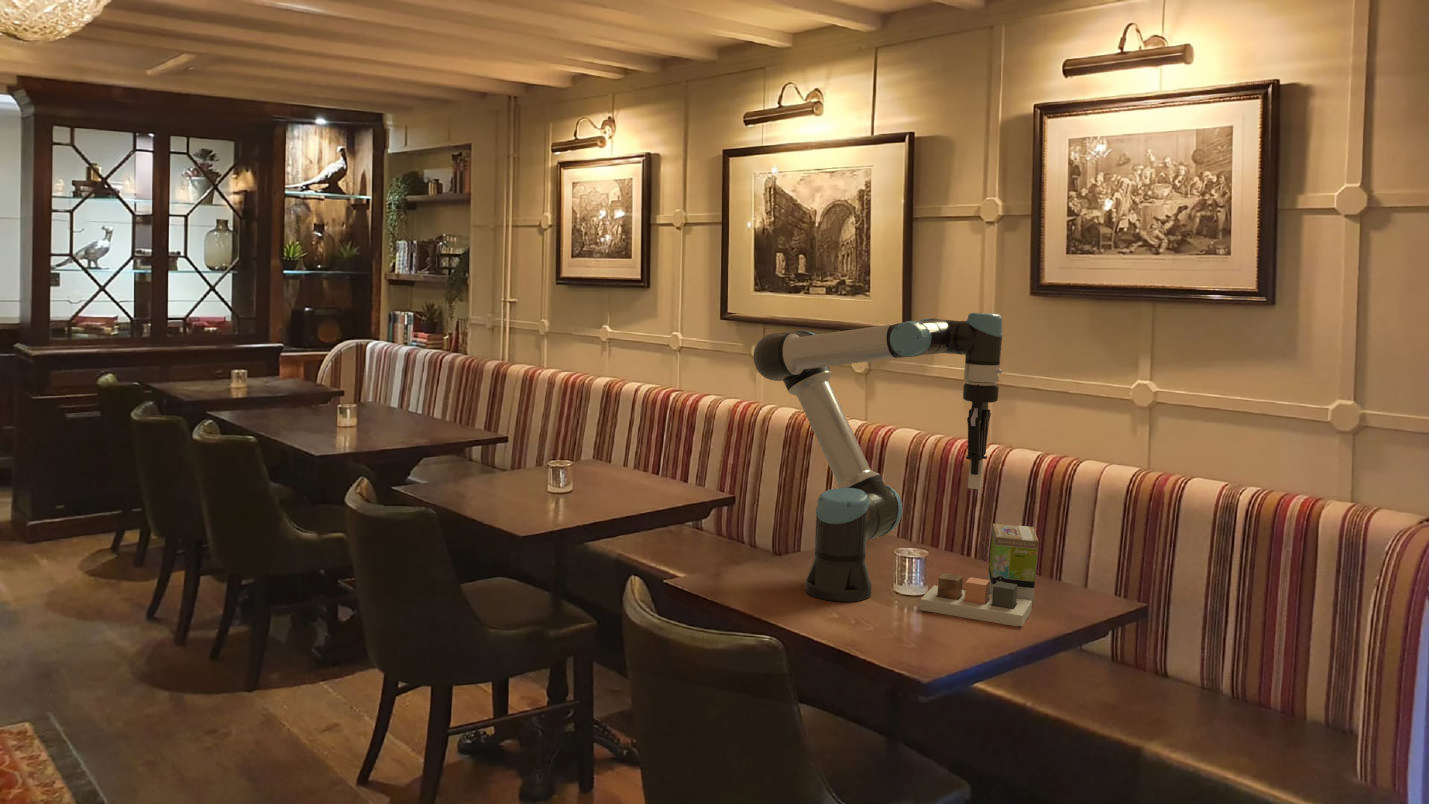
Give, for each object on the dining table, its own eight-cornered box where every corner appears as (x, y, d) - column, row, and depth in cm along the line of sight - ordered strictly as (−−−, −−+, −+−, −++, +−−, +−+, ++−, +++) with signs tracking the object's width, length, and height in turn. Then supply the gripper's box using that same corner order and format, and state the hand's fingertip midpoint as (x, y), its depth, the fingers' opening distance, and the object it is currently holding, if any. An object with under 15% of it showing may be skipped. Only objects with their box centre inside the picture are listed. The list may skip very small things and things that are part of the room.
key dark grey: (991, 608, 241) (993, 586, 240) (995, 603, 245) (997, 581, 244) (1012, 612, 239) (1013, 589, 239) (1015, 606, 243) (1017, 584, 243)
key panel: (919, 610, 244) (920, 599, 244) (933, 595, 255) (934, 585, 255) (1021, 627, 235) (1022, 615, 235) (1031, 611, 246) (1032, 600, 245)
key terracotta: (964, 604, 244) (965, 582, 243) (968, 598, 248) (970, 577, 247) (984, 607, 242) (985, 585, 241) (988, 602, 246) (989, 580, 245)
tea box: (1034, 603, 252) (1039, 540, 250) (989, 599, 254) (993, 536, 252) (1029, 585, 267) (1034, 525, 265) (987, 581, 269) (991, 521, 267)
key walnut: (937, 599, 246) (938, 577, 246) (942, 594, 250) (943, 573, 249) (956, 602, 244) (958, 580, 244) (961, 597, 248) (962, 576, 248)
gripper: (992, 387, 237) (985, 495, 240) (1004, 381, 248) (997, 485, 251) (957, 384, 240) (951, 491, 243) (970, 379, 252) (964, 481, 255)
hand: (974, 488), depth 247 cm, fingers closed
